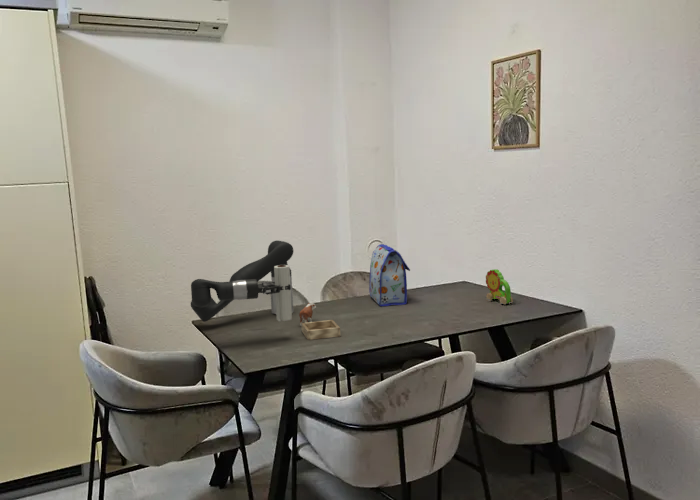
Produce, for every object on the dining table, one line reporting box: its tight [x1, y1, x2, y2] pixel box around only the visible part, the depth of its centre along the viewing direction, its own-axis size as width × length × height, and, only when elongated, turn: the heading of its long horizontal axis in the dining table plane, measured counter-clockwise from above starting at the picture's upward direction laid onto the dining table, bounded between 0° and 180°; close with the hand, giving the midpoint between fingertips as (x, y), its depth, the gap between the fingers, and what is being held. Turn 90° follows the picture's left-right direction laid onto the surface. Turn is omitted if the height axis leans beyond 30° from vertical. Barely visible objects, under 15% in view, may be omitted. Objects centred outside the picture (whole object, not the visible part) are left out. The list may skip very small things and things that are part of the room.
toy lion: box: [485, 269, 514, 305], centre depth 288 cm, size 16×5×15 cm, turn 25°
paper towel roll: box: [274, 264, 293, 323], centre depth 241 cm, size 7×6×21 cm
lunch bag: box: [368, 243, 411, 307], centre depth 299 cm, size 23×17×27 cm
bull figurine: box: [298, 301, 317, 327], centre depth 264 cm, size 4×13×8 cm, turn 161°
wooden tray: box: [301, 319, 341, 341], centre depth 248 cm, size 13×13×4 cm
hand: (289, 286), depth 242 cm, fingers closed on paper towel roll, 3 cm apart
